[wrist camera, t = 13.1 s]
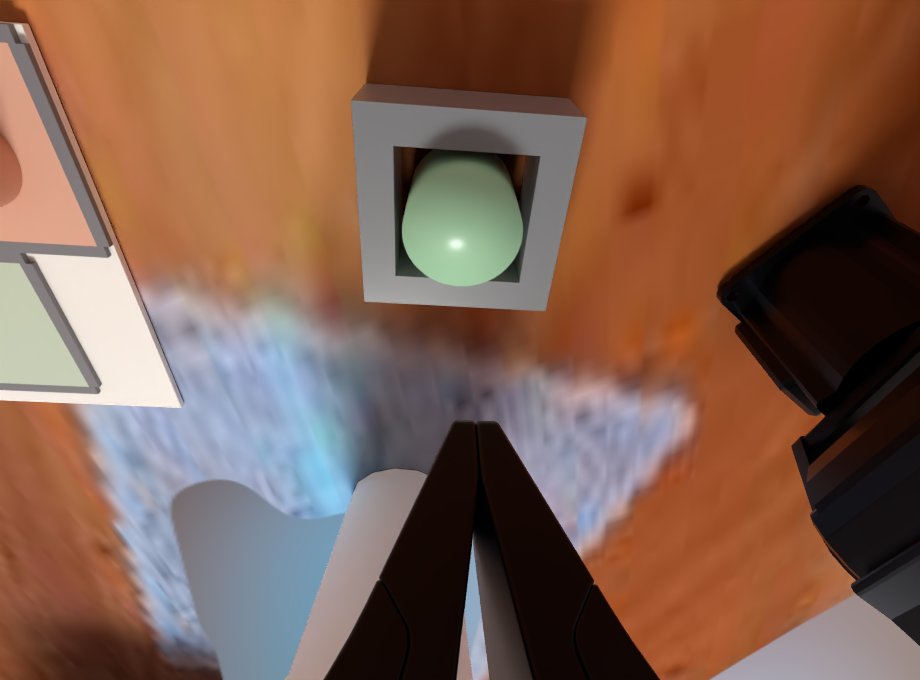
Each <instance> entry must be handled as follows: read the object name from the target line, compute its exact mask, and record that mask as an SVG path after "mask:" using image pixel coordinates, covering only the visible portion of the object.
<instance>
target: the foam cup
mask: <svg viewBox="0 0 920 680" xmlns="http://www.w3.org/2000/svg"><path fill="white" fill-rule="evenodd" d="M426 477H427V474H424V473H422V472H419V471H415V470H404V469H389V470H384V471H379V472H374V473H372V474H370V475H369V476H367V477H365V478H364V479H362V480H361V481H359V482H358V483H357V485H356V488H355V490H354V492H353V495H352V498H351V500H350V503H349V505H348V508H347V511H346V514H345V516H344V519H343V522H342V525H341V528H340V531H339V533H338V537H337V539H336V542H335V545H334V548H333V551H332V553H331V556H330V559H329V562H328V565H327V567H326V570H325V573H324V576H323V579H322V582H321V585H320V587H319V590H318V593H317V596H316V599H315V602H314V604H313V607H312V610H311V613H310V616H309V619H308V621H307V624H306V627H305V630H304V633H303V635H302V639H301V641H300V644H299V647H298V650H297V653H296V655H295V658H294V661H293V664H292V667H291V669H290V672H289V675H288V676H287V677H285V679H284V680H323V679H324V677H325V676H326V674H327V673H328V671H329V669H330V668H331V666H332V664H333V662H334V661H335V659H336V657H337V656H338V654H339V652H340V650H341V649H342V647H343V645H344V644H345V642H346V640H347V639H348V637H349V635H350V633H351V631H352V629H353V627H354V625H355V623H356V621H357V619H358V618H359V616H360V614H361V612H362V610H363V608H364V606H365V604H366V602H367V600H368V598H369V596H370V594H371V592H372V589H373V587H374V585H375V583H376V581H378V580H379V575H380V573H381V571H382V569H383V567H384V565H385V563H386V561H387V559H388V557H389V554H390V552H391V550H392V548H393V546H394V544H395V542H396V540H397V538H398V536H399V534H400V531H401V529H402V527H403V525H404V523H405V521H406V519H407V517H408V515H409V513H410V511H411V508H412V506H413V504H414V502H415V500H416V498H417V496H418V494H419V492H420V490H421V488H422V485H423V483H424V481H425V479H426ZM457 680H473V678H472V670H471V662H470V654H469V647H468V639H467V631H466V623H465V616H464V618H463V627H462V636H461V645H460V653H459V662H458V671H457Z"/></svg>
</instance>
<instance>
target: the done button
mask: <svg viewBox="0 0 920 680" xmlns="http://www.w3.org/2000/svg"><path fill="white" fill-rule="evenodd" d="M522 237H523V223H522V217H521V213H520V210H519V206H518V202H517V198H516V195H515V191H514V187H513V184H512V180H511V177H510V174H509V171H508V169H507V167H506V165H505V164H504V163H503V161H502V160H501V159H500V158H499V156H498V155H497V154H495V153H488V152H474V151H459V150H445V149H433V150H432V151H431V152H429V153H428V154H427V155H426V156H425V157H424V158H423V159H422V160H421V162H420V163H419V164H418V166H417V168H416V170H415V172H414V174H413V177H412V181H411V186H410V190H409V195H408V199H407V204H406V209H405V213H404V218H403V223H402V238H403V243H404V247H405V249H406V252H407V254H408V256H409V258H410V259H411V261H412V262H413V263H414V265H415V266H416V267H417V268H418V269H419V270H420V271H421V272H422V273H424V274H425V275H426V276H428V277H430V278H431V279H433V280H435V281H437V282H440V283H443V284H447V285H451V286H473V285H478V284H481V283H484V282H487V281H489V280H491V279H493V278H495V277H496V276H498V275H499V274H501V273H502V272H503V271H504V270H505V269H506V268H507V267H508V266H509V265H510V264H511V263H512V261H513V260H514V259H515V257H516V255H517V253H518V251H519V248H520V246H521V242H522Z"/></svg>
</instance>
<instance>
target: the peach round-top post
mask: <svg viewBox="0 0 920 680" xmlns="http://www.w3.org/2000/svg"><path fill="white" fill-rule="evenodd" d="M21 187H22V174H21V169H20V166H19V163H18V160H17V158H16V156H15V154H14V152H13V151H12V149H11V147H10V146H9V144H8V143H7V141H6V140H5V139H4V138H3V136H2V135H1V134H0V208H1V207H3V206H5V205H7V204H9V203H10V202H12V201H13V200H14V199H15V198H16V197H17V196H18V194H19V193H20V190H21Z"/></svg>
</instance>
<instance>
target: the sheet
mask: <svg viewBox="0 0 920 680" xmlns="http://www.w3.org/2000/svg"><path fill="white" fill-rule="evenodd" d="M0 134H1V135H2V136H3V138H4V139H5V140H6V141H7V143H8V144H9V146H10V147H11V149H12V151H13V152H14V154H15V156H16V158H17V160H18V163H19V166H20V169H21V174H22V187H21V190H20V193H19V194H18V196H17V197H16V198H15V199H14V200H13V201H12V202H10V203H9V204H7V205H5V206H3V207H1V208H0V400H9V401H33V402H56V403H80V404H103V405H127V406H150V407H174V408H182V406H183V405H184V402H183V400H182V398H181V395H180V393H179V390H178V388H177V385H176V383H175V381H174V378H173V376H172V373H171V371H170V368H169V366H168V363H167V361H166V359H165V356H164V354H163V351H162V349H161V346H160V344H159V341H158V339H157V337H156V334H155V332H154V329H153V327H152V324H151V322H150V319H149V317H148V315H147V312H146V310H145V307H144V305H143V302H142V300H141V297H140V295H139V293H138V290H137V288H136V285H135V283H134V280H133V278H132V275H131V273H130V271H129V268H128V266H127V263H126V261H125V258H124V256H123V253H122V251H121V249H120V246H119V244H118V241H117V239H116V236H115V234H114V232H113V229H112V227H111V224H110V222H109V219H108V217H107V214H106V212H105V210H104V207H103V205H102V202H101V200H100V197H99V195H98V192H97V190H96V188H95V185H94V183H93V180H92V178H91V175H90V173H89V170H88V168H87V166H86V163H85V161H84V158H83V156H82V153H81V151H80V148H79V146H78V144H77V141H76V139H75V136H74V134H73V131H72V129H71V126H70V124H69V122H68V119H67V117H66V114H65V112H64V109H63V107H62V104H61V102H60V100H59V97H58V95H57V92H56V90H55V87H54V85H53V83H52V80H51V78H50V75H49V73H48V70H47V68H46V65H45V63H44V61H43V58H42V56H41V53H40V51H39V48H38V46H37V43H36V41H35V39H34V36H33V34H32V31H31V29H30V26H29V24H27V23H14V22H1V21H0Z"/></svg>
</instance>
